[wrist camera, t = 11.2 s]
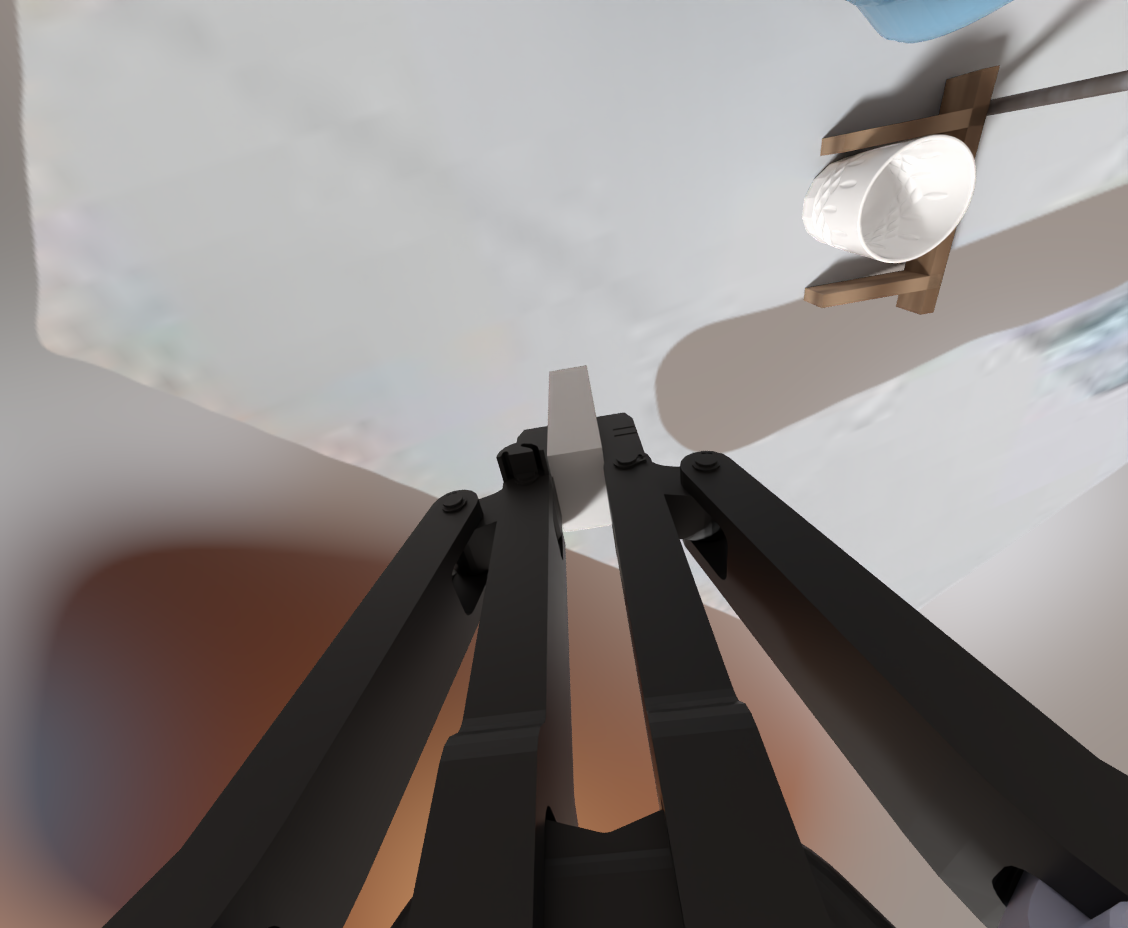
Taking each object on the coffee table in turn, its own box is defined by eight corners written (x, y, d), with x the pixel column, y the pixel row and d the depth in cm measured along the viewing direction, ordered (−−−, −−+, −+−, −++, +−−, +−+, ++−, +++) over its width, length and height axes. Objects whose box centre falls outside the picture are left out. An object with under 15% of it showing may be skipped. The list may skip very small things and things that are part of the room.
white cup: (783, 187, 39) (845, 184, 31) (873, 126, 37) (968, 105, 28) (809, 266, 43) (872, 284, 34) (893, 215, 40) (983, 220, 32)
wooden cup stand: (801, 323, 45) (906, 378, 32) (829, 74, 35) (1004, -1, 21) (920, 302, 45) (1081, 349, 31) (985, 41, 34) (1271, -60, 21)
